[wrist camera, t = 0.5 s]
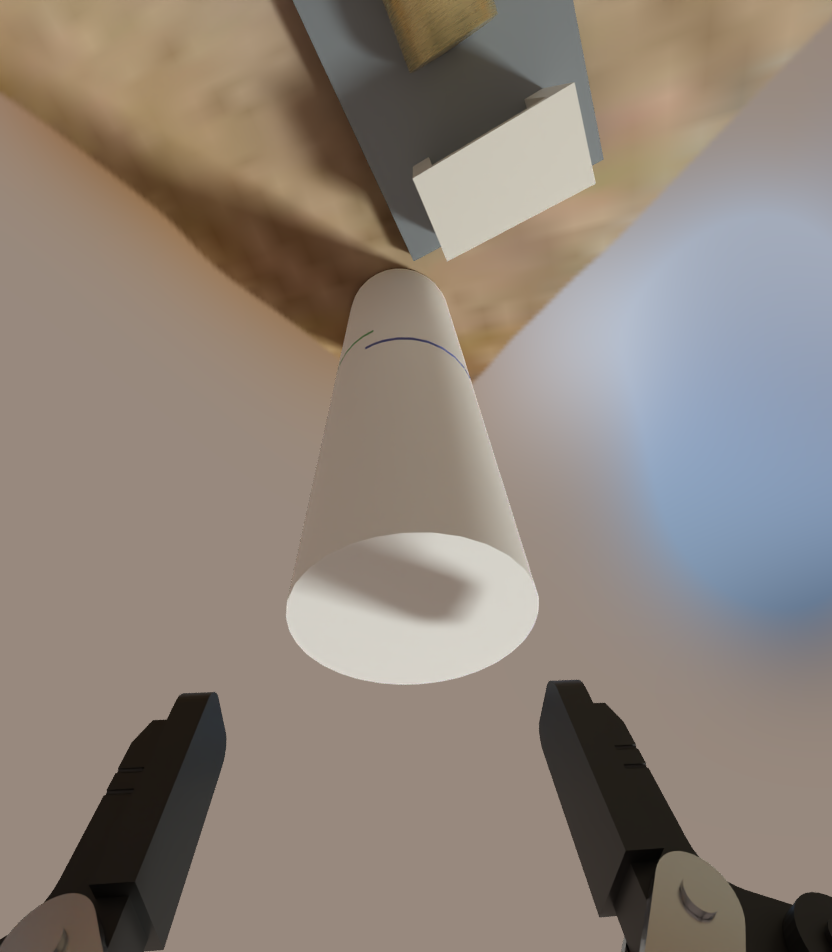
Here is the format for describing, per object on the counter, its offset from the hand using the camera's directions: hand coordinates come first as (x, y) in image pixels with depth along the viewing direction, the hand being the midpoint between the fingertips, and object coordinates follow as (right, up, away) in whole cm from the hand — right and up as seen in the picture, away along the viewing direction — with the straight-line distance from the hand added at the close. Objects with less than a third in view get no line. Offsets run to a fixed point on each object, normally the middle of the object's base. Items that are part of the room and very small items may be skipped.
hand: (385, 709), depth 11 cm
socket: (+5, +23, +15) cm, 28 cm away
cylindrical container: (0, +17, +22) cm, 28 cm away
